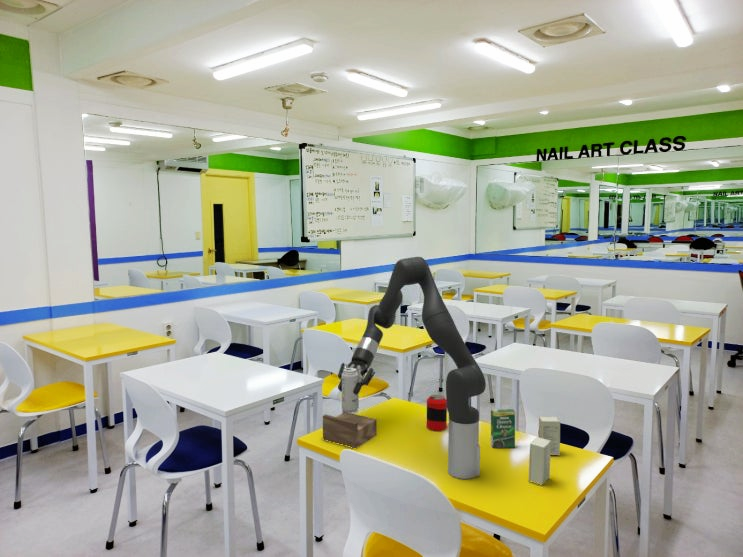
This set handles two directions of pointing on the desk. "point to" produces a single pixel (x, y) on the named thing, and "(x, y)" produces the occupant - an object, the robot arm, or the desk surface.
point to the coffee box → (503, 428)
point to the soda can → (436, 413)
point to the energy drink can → (349, 390)
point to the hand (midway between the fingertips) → (347, 391)
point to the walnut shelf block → (349, 429)
